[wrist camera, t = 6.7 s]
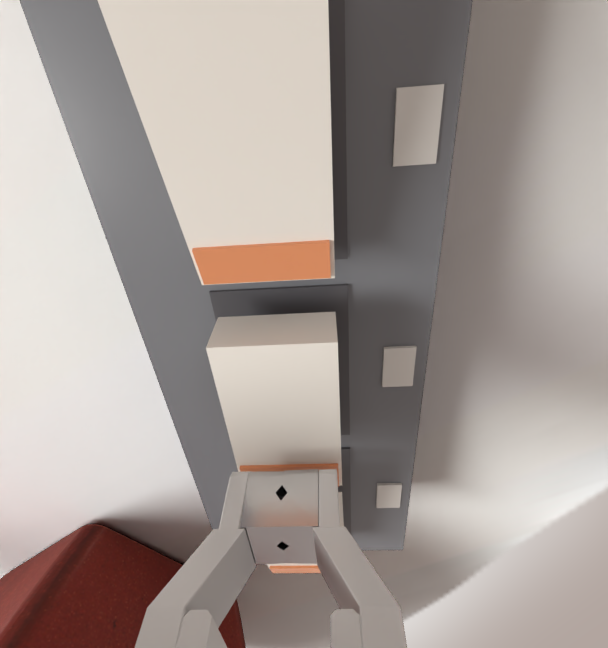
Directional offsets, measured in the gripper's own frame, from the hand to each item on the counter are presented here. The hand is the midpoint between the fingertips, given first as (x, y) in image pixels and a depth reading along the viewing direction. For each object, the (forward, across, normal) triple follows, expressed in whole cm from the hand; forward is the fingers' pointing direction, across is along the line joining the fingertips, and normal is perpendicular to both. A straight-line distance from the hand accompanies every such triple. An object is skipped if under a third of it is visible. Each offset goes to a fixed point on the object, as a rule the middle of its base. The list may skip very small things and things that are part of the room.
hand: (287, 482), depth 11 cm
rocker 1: (+1, 0, -9) cm, 9 cm away
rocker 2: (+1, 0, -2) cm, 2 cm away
